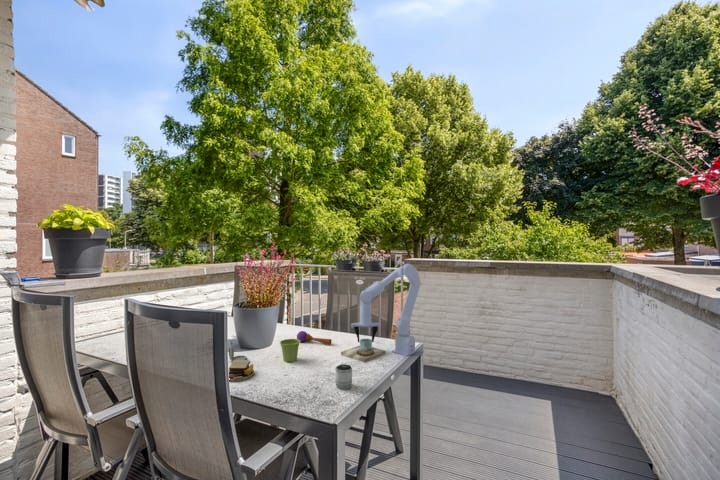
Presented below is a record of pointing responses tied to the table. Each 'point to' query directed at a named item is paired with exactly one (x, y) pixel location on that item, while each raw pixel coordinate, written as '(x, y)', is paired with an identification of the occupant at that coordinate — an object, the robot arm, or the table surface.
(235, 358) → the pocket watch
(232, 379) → the toy sandwich meal
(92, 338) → the table surface
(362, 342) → the teal faceted ring
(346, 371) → the camera lens
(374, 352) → the gear board
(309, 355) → the table surface
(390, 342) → the table surface
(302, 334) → the kendama
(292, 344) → the plant pot
